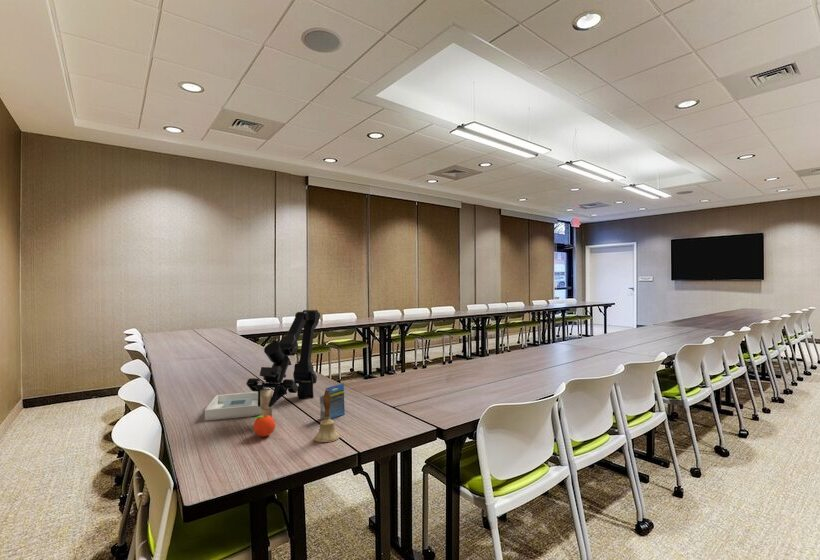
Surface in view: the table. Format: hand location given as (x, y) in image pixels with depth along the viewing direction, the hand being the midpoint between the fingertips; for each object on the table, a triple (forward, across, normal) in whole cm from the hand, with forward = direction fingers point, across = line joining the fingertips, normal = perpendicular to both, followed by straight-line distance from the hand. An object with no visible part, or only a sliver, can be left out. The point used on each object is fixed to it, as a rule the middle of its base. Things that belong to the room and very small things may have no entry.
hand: (264, 406), depth 144 cm
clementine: (+12, +5, -2) cm, 13 cm away
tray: (-5, -20, +15) cm, 25 cm away
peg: (+4, 0, +6) cm, 7 cm away
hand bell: (+10, +28, -1) cm, 29 cm away
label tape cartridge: (-3, +22, +13) cm, 26 cm away
